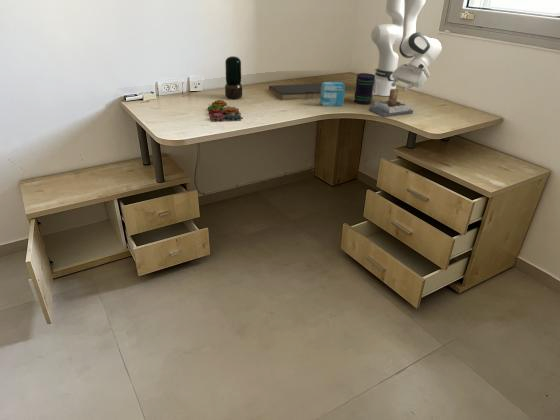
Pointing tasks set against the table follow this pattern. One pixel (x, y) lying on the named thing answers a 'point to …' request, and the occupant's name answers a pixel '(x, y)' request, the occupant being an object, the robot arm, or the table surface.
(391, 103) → the tan upright cylinder
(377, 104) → the carrier plate
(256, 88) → the table surface
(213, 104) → the gear puzzle
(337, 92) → the data package
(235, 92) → the dark green cactus pot
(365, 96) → the storage jar
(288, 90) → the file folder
